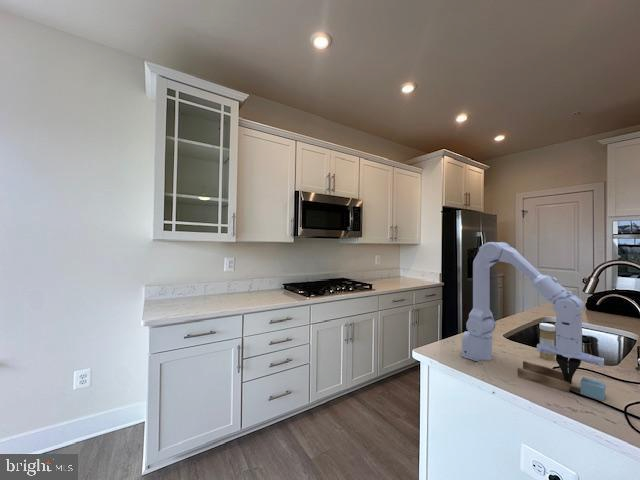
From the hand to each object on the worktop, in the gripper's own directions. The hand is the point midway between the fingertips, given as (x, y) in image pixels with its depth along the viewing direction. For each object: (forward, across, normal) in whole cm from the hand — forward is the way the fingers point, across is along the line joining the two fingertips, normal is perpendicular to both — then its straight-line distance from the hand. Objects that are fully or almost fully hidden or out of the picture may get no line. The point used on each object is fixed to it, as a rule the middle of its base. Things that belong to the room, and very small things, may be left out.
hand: (568, 382), depth 80 cm
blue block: (0, +3, 0) cm, 3 cm away
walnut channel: (+2, -6, 0) cm, 6 cm away
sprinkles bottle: (+2, -8, +21) cm, 22 cm away
